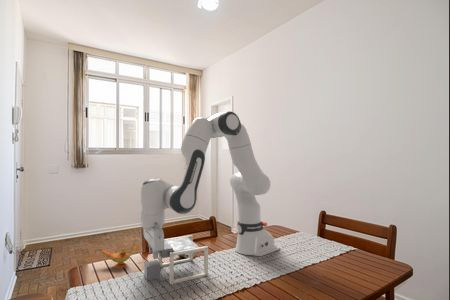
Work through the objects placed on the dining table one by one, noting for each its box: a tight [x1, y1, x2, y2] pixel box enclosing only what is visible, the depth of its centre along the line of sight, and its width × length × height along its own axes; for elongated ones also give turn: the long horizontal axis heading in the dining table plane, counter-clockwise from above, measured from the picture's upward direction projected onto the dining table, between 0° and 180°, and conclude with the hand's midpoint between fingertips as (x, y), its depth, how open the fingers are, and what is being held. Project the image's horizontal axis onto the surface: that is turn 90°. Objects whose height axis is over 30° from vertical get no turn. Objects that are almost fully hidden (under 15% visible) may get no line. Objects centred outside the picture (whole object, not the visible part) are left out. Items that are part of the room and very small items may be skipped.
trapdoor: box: [158, 237, 200, 259], centre depth 102 cm, size 14×14×3 cm
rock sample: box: [177, 252, 196, 259], centre depth 118 cm, size 10×8×9 cm
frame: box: [158, 234, 209, 285], centre depth 103 cm, size 15×18×11 cm
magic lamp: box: [96, 240, 139, 269], centre depth 108 cm, size 7×18×11 cm, turn 88°
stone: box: [143, 259, 161, 281], centre depth 98 cm, size 5×5×5 cm
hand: (153, 255), depth 99 cm, fingers open, 5 cm apart
